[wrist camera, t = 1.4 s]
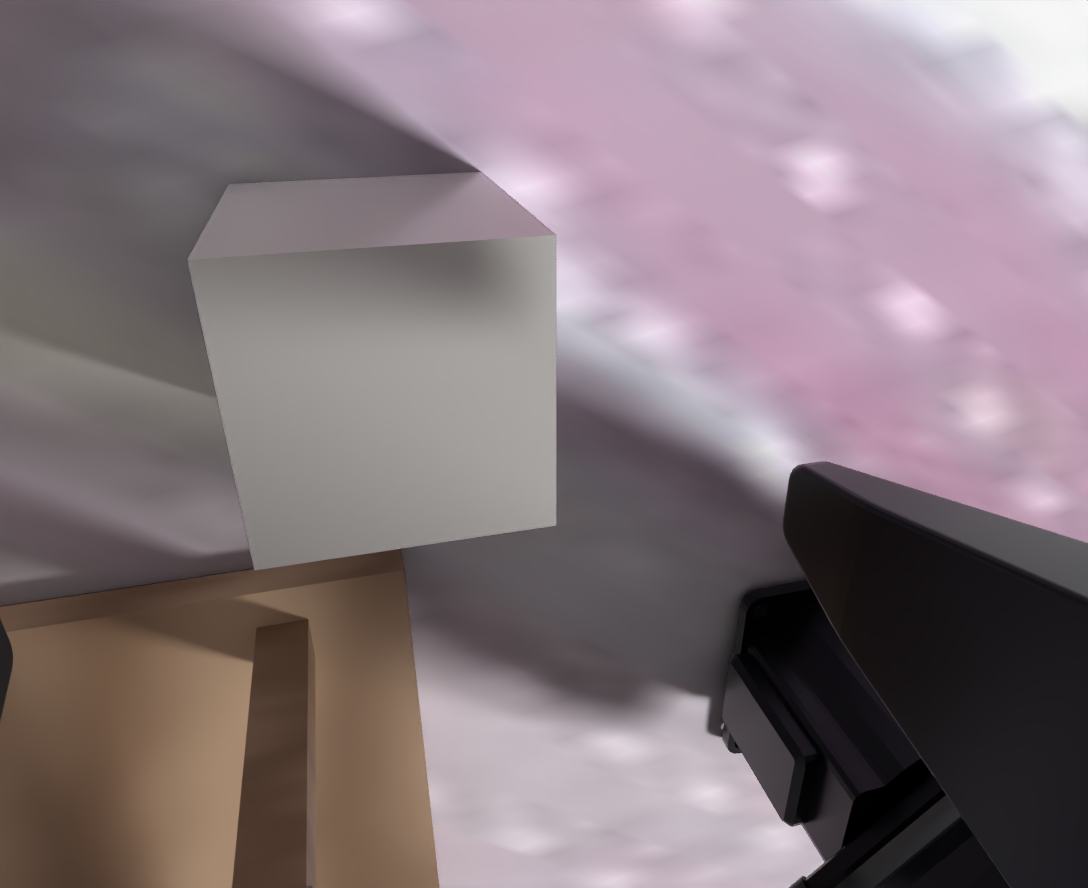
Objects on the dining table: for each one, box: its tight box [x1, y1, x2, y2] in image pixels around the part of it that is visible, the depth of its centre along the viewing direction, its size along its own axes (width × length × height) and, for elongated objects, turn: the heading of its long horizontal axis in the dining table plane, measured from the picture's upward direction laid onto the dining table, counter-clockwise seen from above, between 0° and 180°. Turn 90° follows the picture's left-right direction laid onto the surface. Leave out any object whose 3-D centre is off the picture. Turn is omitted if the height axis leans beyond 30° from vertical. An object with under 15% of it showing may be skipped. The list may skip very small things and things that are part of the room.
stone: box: [187, 172, 556, 570], centre depth 15 cm, size 5×5×6 cm
